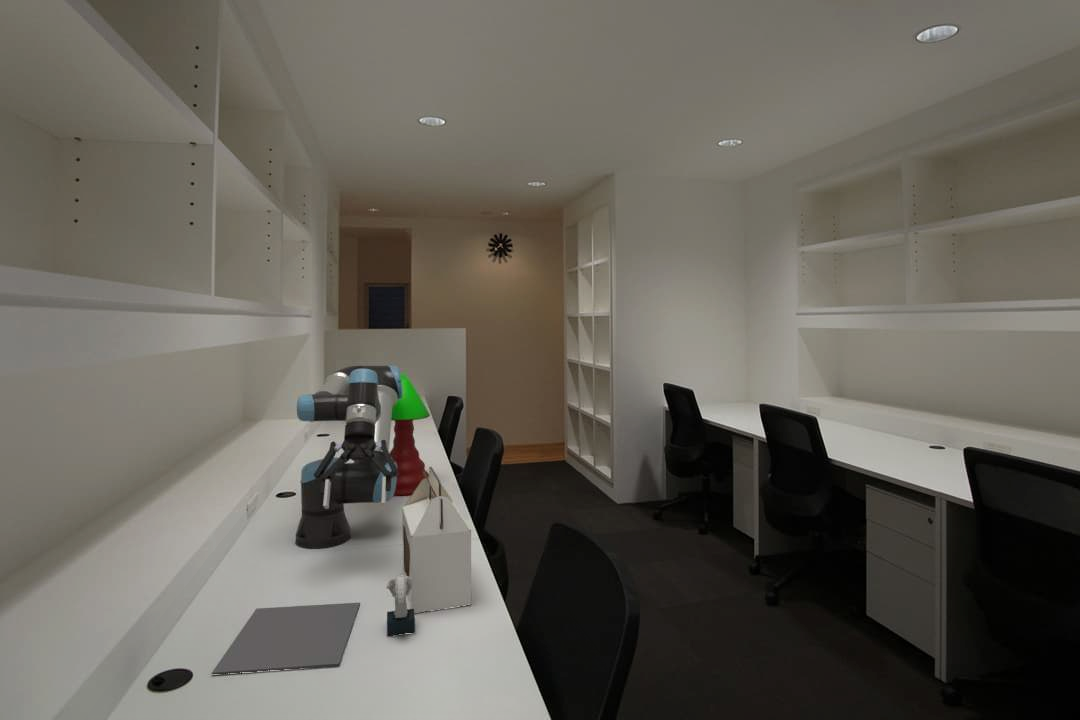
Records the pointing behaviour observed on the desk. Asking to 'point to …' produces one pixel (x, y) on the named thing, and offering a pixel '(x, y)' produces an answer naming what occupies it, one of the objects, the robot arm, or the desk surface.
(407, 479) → the table lamp
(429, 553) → the gable box
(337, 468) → the robot arm
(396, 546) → the desk surface
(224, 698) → the desk surface
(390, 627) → the watch
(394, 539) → the desk surface
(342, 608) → the rubber mat
